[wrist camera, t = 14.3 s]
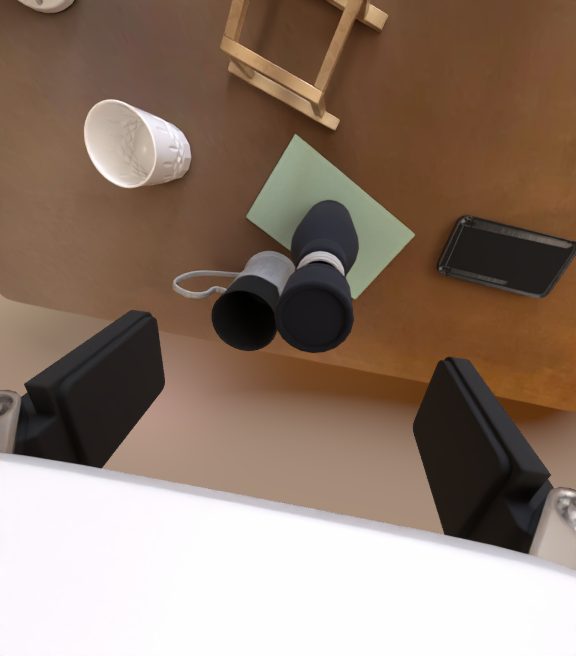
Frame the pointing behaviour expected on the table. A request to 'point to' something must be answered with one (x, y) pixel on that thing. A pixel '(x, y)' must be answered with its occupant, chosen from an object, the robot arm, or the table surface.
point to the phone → (505, 257)
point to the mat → (319, 185)
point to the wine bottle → (319, 280)
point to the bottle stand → (247, 62)
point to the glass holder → (246, 300)
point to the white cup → (134, 145)
